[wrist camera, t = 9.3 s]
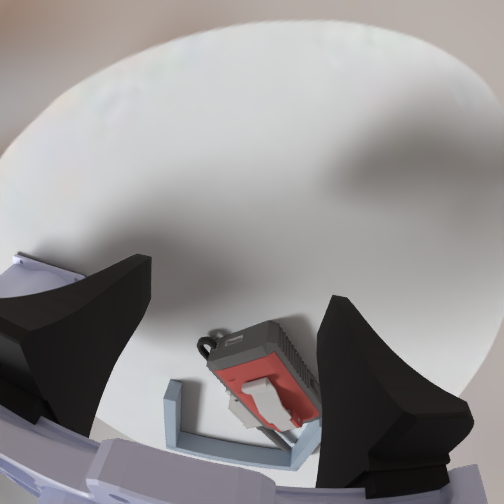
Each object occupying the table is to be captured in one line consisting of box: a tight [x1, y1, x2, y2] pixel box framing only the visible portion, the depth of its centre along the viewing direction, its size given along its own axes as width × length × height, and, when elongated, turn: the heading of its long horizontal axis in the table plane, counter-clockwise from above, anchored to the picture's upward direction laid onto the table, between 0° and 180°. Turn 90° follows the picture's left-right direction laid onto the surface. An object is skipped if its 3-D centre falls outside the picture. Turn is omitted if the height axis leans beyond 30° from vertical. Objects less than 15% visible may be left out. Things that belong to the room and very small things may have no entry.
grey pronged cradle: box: [163, 380, 322, 471], centre depth 30 cm, size 16×12×2 cm
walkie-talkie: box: [197, 321, 322, 453], centre depth 27 cm, size 9×4×20 cm
